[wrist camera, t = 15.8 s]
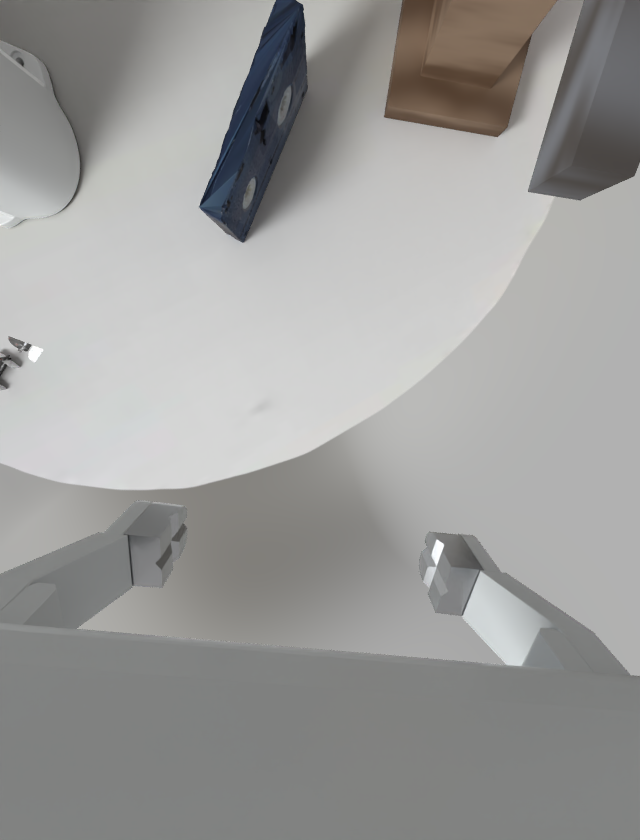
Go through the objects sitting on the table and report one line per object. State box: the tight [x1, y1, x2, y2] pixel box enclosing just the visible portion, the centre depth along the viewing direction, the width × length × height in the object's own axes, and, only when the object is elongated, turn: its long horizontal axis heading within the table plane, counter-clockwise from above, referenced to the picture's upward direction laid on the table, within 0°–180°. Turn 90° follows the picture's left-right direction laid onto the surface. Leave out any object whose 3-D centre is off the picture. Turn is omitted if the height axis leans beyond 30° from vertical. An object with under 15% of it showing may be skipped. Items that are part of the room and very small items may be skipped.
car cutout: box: [0, 336, 43, 390], centre depth 43 cm, size 15×7×4 cm, turn 136°
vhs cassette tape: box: [199, 0, 308, 242], centre depth 33 cm, size 18×3×10 cm, turn 150°
